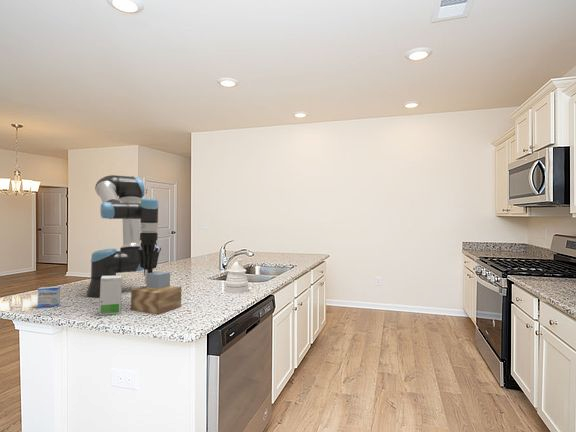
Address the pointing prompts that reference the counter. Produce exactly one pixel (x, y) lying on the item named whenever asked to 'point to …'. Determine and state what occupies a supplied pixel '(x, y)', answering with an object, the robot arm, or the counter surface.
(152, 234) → the robot arm
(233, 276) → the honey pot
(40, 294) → the medicine box
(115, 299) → the skincare box
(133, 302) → the oak plinth
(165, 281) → the slate-blue block
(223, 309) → the counter surface
